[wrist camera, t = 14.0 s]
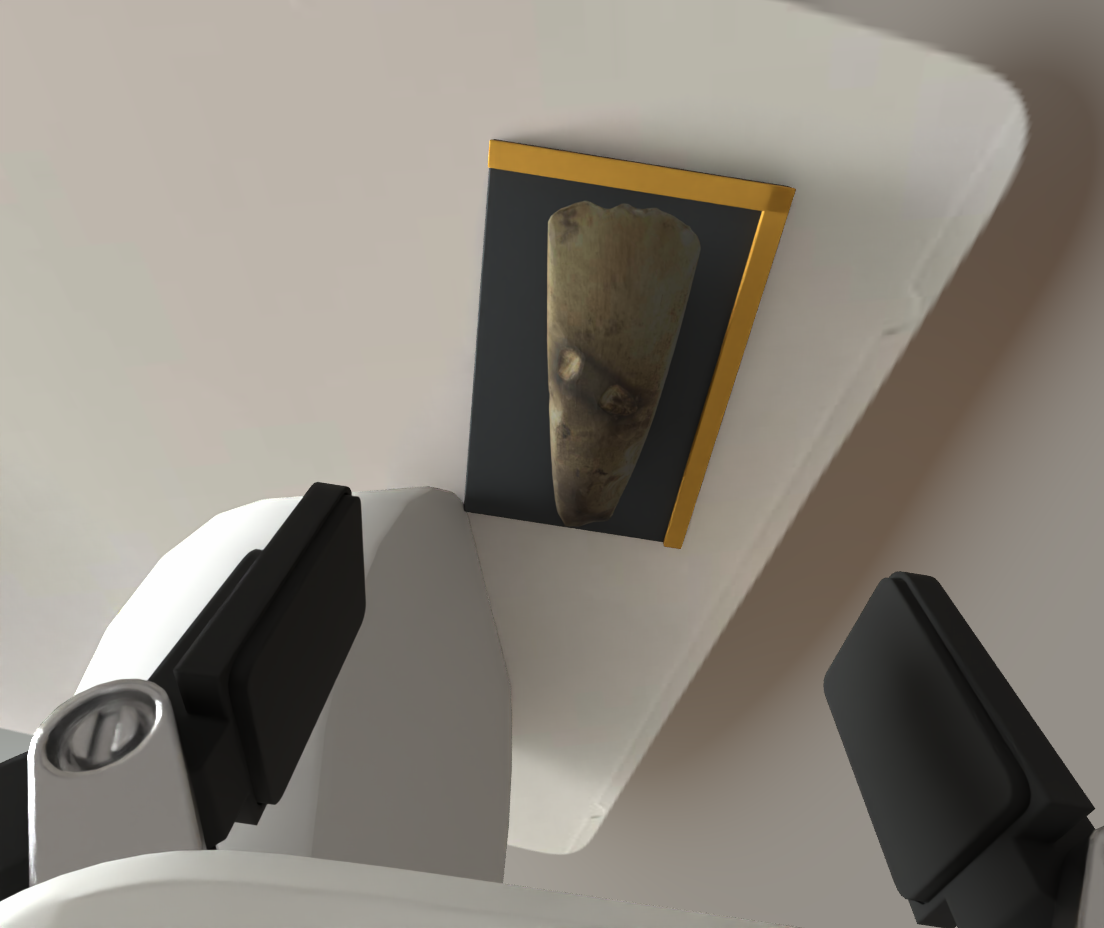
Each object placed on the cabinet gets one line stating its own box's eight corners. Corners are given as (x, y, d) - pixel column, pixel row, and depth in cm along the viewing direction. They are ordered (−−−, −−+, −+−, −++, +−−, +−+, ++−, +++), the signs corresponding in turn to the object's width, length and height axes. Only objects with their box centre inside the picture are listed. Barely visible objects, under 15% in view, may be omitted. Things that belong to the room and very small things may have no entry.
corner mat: (493, 139, 20) (489, 139, 19) (789, 186, 20) (796, 188, 19) (465, 505, 27) (462, 515, 27) (679, 538, 27) (681, 549, 27)
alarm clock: (280, 435, 26) (-324, 1037, 9) (443, 420, 25) (110, 1063, 8) (404, 738, 37) (234, 1279, 20) (523, 735, 36) (451, 1303, 19)
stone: (552, 191, 20) (547, 200, 18) (702, 199, 20) (712, 209, 18) (542, 508, 27) (537, 539, 25) (653, 516, 26) (656, 548, 24)
